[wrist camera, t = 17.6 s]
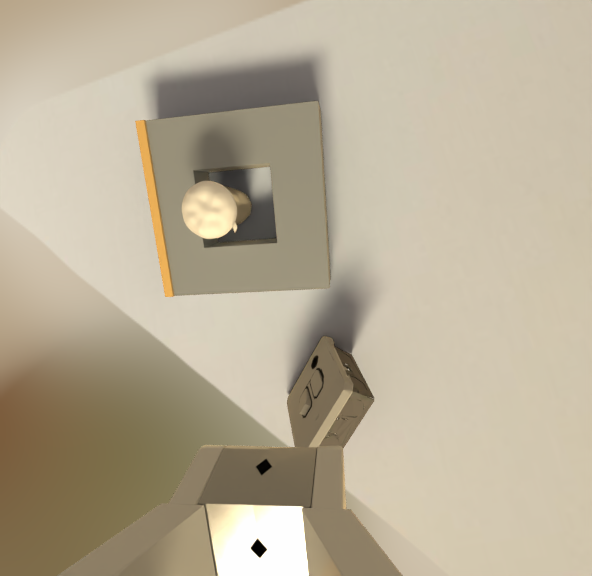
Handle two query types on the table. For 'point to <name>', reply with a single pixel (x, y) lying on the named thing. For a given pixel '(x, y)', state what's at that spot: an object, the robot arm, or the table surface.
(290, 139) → the socket block
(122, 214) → the table surface
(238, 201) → the milkshake
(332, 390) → the electrical switch
